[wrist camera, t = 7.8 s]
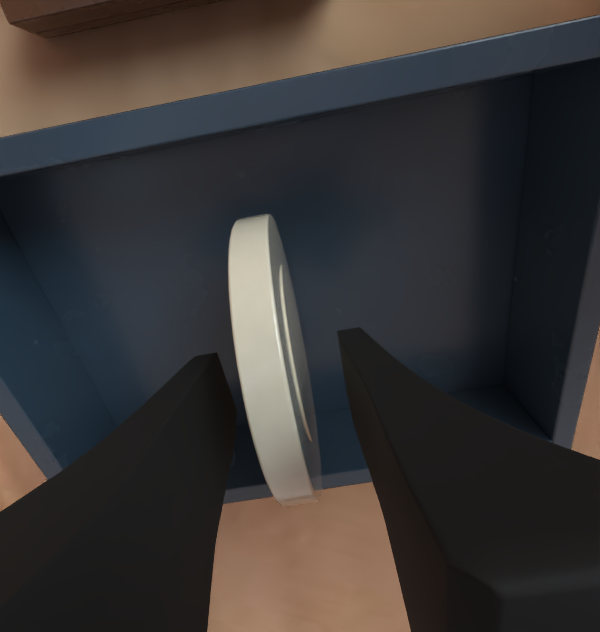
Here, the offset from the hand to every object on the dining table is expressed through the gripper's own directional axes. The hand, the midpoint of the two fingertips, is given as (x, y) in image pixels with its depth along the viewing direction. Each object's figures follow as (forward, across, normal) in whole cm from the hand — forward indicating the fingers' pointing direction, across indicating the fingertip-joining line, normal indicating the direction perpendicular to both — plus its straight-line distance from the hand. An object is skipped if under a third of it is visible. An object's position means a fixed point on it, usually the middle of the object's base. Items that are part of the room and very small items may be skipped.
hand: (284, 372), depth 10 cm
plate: (+5, 0, 0) cm, 5 cm away
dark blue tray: (+6, 0, 0) cm, 6 cm away
